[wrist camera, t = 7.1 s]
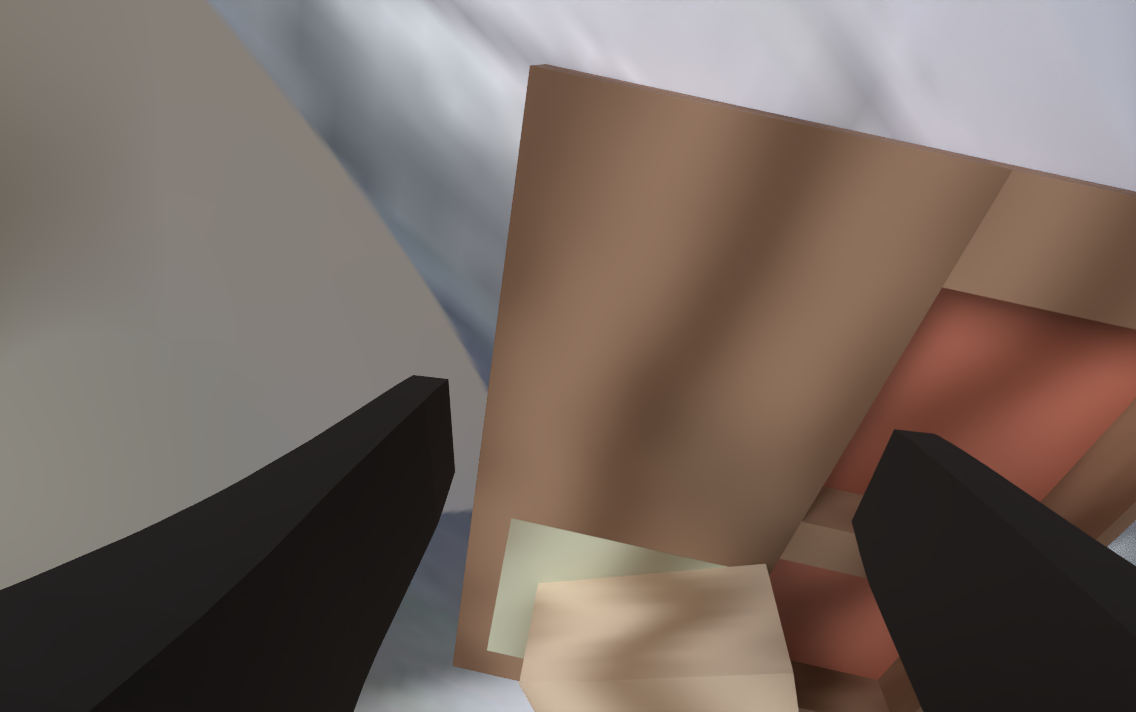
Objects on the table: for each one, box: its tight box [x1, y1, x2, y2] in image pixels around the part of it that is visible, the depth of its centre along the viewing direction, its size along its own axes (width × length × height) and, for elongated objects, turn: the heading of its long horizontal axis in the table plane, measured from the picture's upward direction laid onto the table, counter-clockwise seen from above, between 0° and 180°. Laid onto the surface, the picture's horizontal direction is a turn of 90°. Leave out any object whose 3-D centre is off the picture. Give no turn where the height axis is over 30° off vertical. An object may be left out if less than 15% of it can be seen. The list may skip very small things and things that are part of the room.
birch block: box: [519, 564, 799, 712], centre depth 20 cm, size 9×7×4 cm
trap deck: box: [453, 64, 1136, 712], centre depth 20 cm, size 21×26×2 cm
